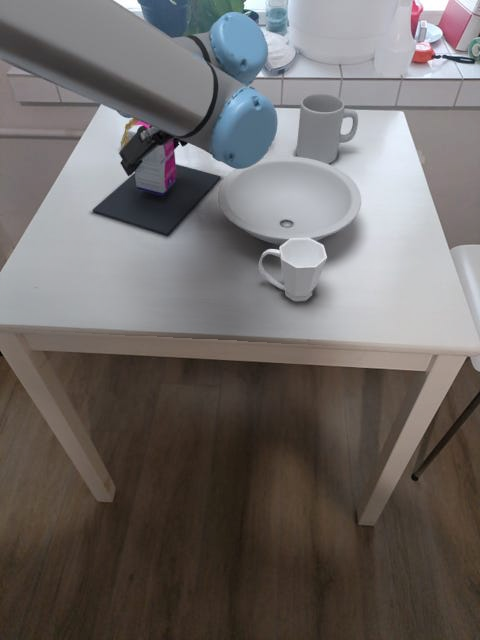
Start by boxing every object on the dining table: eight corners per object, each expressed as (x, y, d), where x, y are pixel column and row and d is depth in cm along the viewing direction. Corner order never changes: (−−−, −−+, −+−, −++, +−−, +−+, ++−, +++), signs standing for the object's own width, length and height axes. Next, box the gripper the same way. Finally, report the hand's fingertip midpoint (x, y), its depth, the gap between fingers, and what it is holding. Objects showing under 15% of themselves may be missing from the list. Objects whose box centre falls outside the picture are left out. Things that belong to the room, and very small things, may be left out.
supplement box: (164, 196, 89) (156, 136, 80) (136, 189, 90) (125, 130, 82) (178, 179, 93) (172, 121, 84) (151, 173, 94) (142, 115, 85)
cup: (315, 312, 73) (321, 273, 67) (251, 297, 75) (252, 257, 69) (325, 281, 77) (332, 242, 71) (265, 268, 79) (266, 228, 73)
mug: (300, 167, 100) (305, 114, 91) (292, 145, 105) (296, 94, 97) (357, 163, 100) (367, 111, 92) (347, 142, 106) (355, 91, 98)
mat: (93, 212, 90) (92, 209, 89) (152, 160, 102) (151, 157, 101) (167, 236, 85) (167, 233, 85) (220, 178, 97) (220, 176, 96)
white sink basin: (191, 233, 85) (188, 201, 81) (269, 173, 98) (271, 142, 93) (308, 291, 76) (312, 259, 71) (378, 216, 88) (386, 185, 83)
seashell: (125, 149, 110) (129, 102, 107) (161, 156, 111) (166, 109, 108) (117, 151, 102) (120, 99, 98) (156, 158, 103) (161, 106, 99)
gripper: (151, 150, 67) (108, 201, 87) (255, 103, 76) (195, 158, 96) (121, 99, 65) (85, 162, 85) (231, 57, 75) (175, 123, 94)
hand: (143, 160), depth 91 cm, fingers closed on supplement box, 7 cm apart
